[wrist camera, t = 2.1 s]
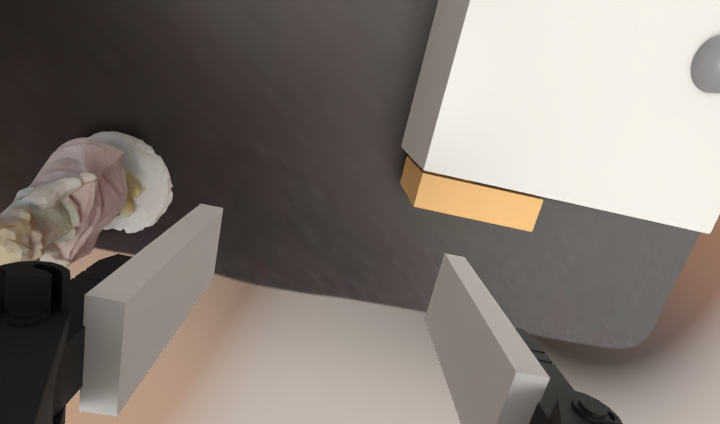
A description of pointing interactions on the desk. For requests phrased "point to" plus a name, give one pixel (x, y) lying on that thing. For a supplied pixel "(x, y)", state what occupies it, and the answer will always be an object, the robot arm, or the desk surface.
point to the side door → (469, 198)
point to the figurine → (85, 199)
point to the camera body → (577, 103)
